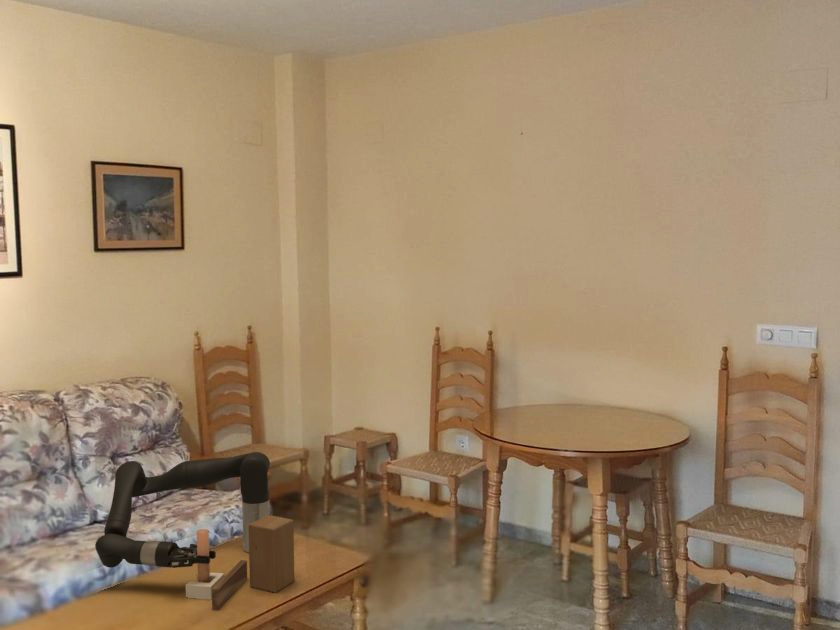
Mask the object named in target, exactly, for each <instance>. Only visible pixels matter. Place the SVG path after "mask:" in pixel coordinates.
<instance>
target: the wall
mask: <svg viewBox="0 0 840 630" xmlns="http://www.w3.org/2000/svg"><path fill="white" fill-rule="evenodd" d="M247 580H248V561H247V560H243V559H240V561H238V562H237V564H235V566H233V567H232V569H231V570H229V572H227V574H226V575H224V578H223V579H222V580H221V581H220V582H219V583H218V584H217V585H216V586H215V587H214V588H213V589H212V600H211V606H212V607H211V608H212V609H211V610H215V611H219V610H220V609H222V607H223V606H224V605H225V604H226V603H227V602H228V601H229V599H230V598H231V597H232V596H233V595H234V594H235V593H236V592H237V591H238V590H239V589H240V588H241V586H242V585H243V584H244V583H245V582H246V581H247ZM238 588H239V589H238ZM237 589H238V590H237ZM236 590H237V591H236ZM235 591H236V592H235Z"/></svg>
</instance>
